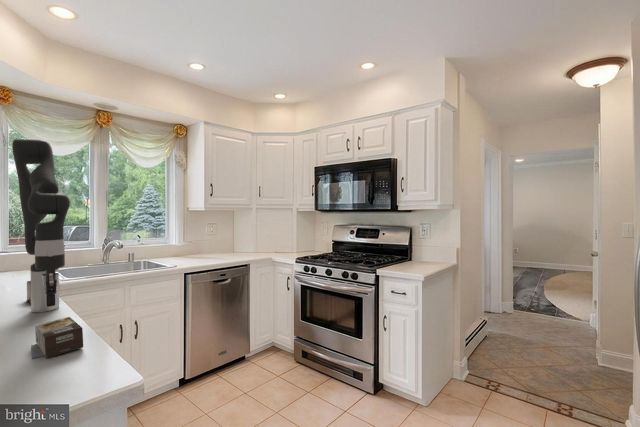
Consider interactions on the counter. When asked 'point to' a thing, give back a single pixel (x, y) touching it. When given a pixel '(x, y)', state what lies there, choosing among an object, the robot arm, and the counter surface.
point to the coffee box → (58, 336)
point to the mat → (36, 351)
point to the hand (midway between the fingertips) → (50, 305)
